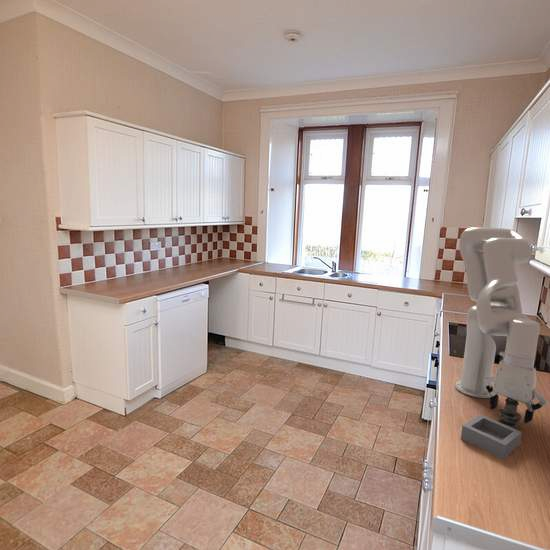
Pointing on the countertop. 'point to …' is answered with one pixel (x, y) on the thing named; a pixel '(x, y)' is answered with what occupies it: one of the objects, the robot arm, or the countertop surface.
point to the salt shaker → (510, 413)
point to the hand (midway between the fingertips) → (509, 414)
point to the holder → (491, 436)
